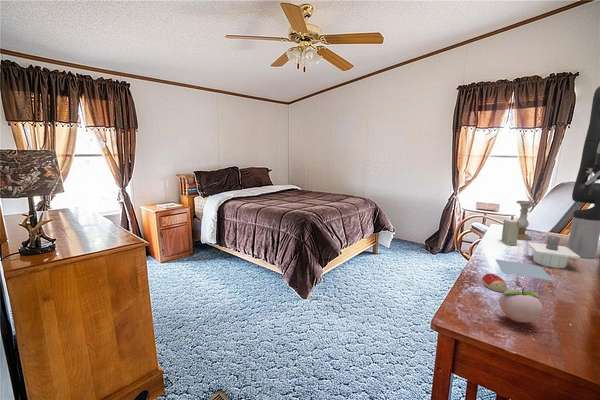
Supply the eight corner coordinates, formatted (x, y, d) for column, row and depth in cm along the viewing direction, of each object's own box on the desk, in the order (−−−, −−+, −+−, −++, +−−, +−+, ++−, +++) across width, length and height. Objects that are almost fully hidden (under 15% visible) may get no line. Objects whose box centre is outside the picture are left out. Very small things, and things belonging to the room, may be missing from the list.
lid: (527, 243, 120) (528, 231, 119) (565, 248, 114) (568, 235, 114) (536, 253, 109) (538, 239, 108) (579, 258, 103) (582, 244, 102)
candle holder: (516, 239, 145) (521, 202, 141) (506, 235, 153) (511, 200, 150) (534, 240, 143) (540, 203, 140) (523, 236, 152) (529, 200, 148)
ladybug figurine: (490, 292, 90) (492, 282, 89) (475, 279, 99) (477, 270, 99) (512, 294, 89) (514, 284, 88) (495, 280, 99) (496, 271, 98)
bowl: (530, 258, 119) (532, 245, 118) (559, 262, 115) (562, 248, 114) (537, 266, 111) (539, 252, 110) (570, 271, 106) (572, 256, 105)
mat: (495, 260, 117) (495, 259, 116) (539, 267, 110) (539, 265, 110) (502, 274, 103) (502, 272, 103) (553, 282, 97) (553, 280, 97)
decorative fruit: (513, 333, 69) (519, 297, 67) (491, 314, 77) (495, 281, 76) (550, 333, 69) (556, 297, 67) (523, 314, 77) (528, 281, 76)
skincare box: (516, 246, 135) (520, 222, 133) (507, 245, 136) (510, 221, 134) (509, 242, 141) (513, 219, 139) (500, 241, 142) (503, 218, 140)
